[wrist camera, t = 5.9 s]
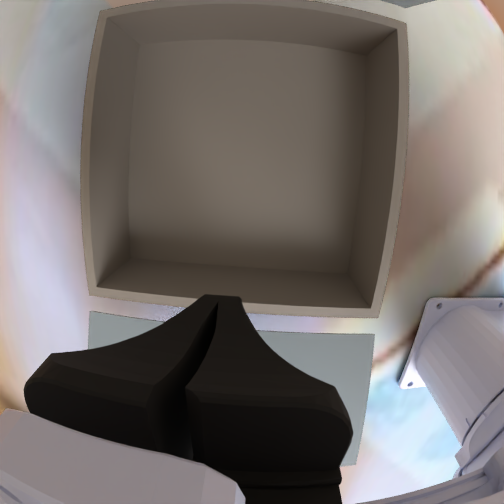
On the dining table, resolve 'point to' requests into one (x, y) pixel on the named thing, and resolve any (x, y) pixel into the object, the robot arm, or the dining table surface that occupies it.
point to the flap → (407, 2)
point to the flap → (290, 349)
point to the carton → (244, 154)
